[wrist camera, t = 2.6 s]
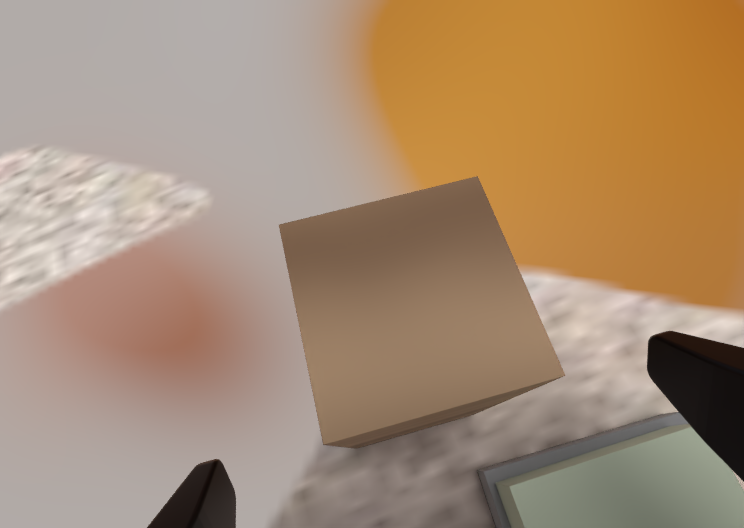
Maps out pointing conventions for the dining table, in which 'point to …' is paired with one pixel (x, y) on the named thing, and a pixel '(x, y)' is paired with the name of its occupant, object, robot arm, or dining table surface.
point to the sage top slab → (630, 487)
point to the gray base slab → (563, 457)
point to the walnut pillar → (412, 314)
